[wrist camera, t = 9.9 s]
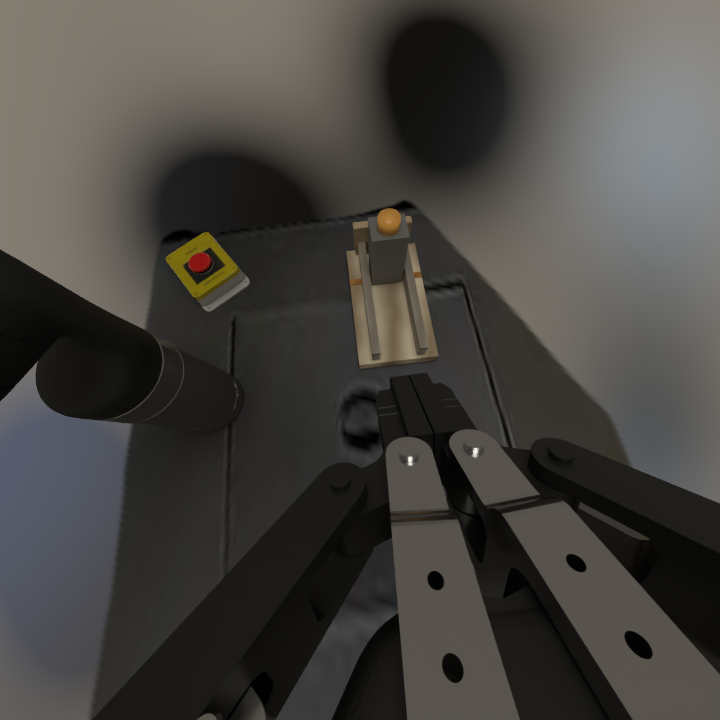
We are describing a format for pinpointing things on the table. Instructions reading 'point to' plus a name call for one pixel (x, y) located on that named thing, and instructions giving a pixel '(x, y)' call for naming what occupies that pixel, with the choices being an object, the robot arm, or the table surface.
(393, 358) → the track
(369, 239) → the orange-capped grey pillar
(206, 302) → the emergency button
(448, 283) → the table surface
